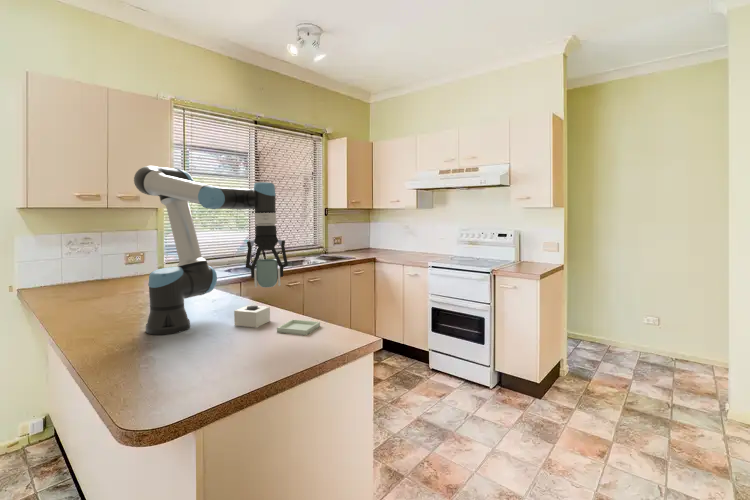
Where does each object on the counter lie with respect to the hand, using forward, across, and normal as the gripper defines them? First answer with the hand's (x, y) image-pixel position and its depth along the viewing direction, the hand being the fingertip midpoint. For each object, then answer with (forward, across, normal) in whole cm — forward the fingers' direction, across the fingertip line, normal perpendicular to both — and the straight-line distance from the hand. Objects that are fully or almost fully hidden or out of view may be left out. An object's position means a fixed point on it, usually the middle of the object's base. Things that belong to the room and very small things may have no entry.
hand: (267, 285), depth 147 cm
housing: (+17, -7, +14) cm, 23 cm away
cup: (0, 0, 0) cm, 0 cm away
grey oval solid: (+17, -7, +14) cm, 23 cm away
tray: (+18, +11, +2) cm, 21 cm away
